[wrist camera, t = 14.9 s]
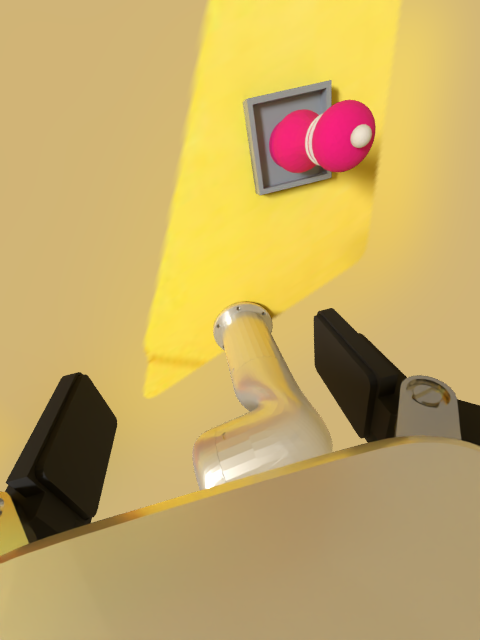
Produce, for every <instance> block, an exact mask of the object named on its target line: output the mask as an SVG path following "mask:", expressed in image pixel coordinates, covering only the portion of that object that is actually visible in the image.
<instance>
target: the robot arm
mask: <svg viewBox="0 0 480 640" xmlns="http://www.w3.org/2000/svg"><path fill="white" fill-rule="evenodd" d="M262 312H263V313H262ZM218 324H219V325H218ZM271 332H272V320H271V317H270V315H269V313H268V312H267V310H266V309H264V308H263V307H262V306H260V305H258V304H256V303H252V302H240V303H236V304H233V305H231V306H229V307H227V308H226V309H224V310H223V311H222V312H221V313H220V314H219V316H218V317H217V319H216V321H215V323H214V327H213V333H214V338H215V341H216V342H217V344H218V345H219V346H220V347H221V348H222V349H223V350H225V353H226V357H227V361H228V365H229V370H230V374H231V378H232V382H233V387H234V390H235V394H236V396H237V398H238V400H239V402H241V404H242V405H243V406H244V407H245V408H246V409H247V410H249V411H250V412H248V413H246V414H245V415H242V416H240V417H237V418H235V419H233V420H230V421H228V422H226V423H223V424H221V425H219V426H216V427H214V428H212V429H210V430H208V431H206V432H204V433H203V434H201V435H200V436H199V437H198V438H197V440H196V442H195V444H194V447H193V465H194V470H195V475H196V479H197V482H198V485H199V489H200V491H197V492H194V493H190V494H187V495H183V496H180V497H177V498H174V499H170V500H166V501H163V502H160V503H156V504H153V505H150V506H146V507H143V508H140V509H137V510H133V511H130V512H126V513H123V514H120V515H117V516H113V517H110V518H106V519H103V520H100V521H97V522H93V523H91V519H92V517H94V516H95V515H96V512H97V509H98V505H99V501H100V496H101V492H102V488H103V483H104V479H105V475H106V471H107V466H108V462H109V458H110V454H111V449H112V445H113V441H114V436H115V432H116V428H117V419H116V417H115V415H114V414H113V412H112V411H111V409H110V408H109V406H108V405H107V403H106V402H105V400H104V399H103V397H102V396H101V394H100V393H99V391H98V390H97V389H96V387H95V386H94V384H93V383H92V381H91V380H90V378H89V377H88V376H87V375H83V374H82V373H79V372H78V373H74V374H70V375H66V376H64V377H62V378H61V380H60V382H59V384H58V386H57V387H56V389H55V391H54V393H53V395H52V397H51V399H50V401H49V403H48V404H47V406H46V408H45V410H44V412H43V414H42V416H41V418H40V419H39V421H38V423H37V425H36V427H35V429H34V431H33V433H32V434H31V436H30V438H29V440H28V442H27V444H26V445H25V448H24V449H23V451H22V453H21V455H20V457H19V459H18V461H17V462H16V464H15V466H14V468H13V470H12V472H11V474H10V475H9V477H8V479H7V481H6V483H7V484H8V487H7V489H6V491H5V492H0V640H480V406H479V405H476V404H471V403H468V402H465V401H461V400H458V399H457V398H456V395H455V393H454V392H453V390H452V389H451V388H450V387H449V386H448V385H446V384H445V383H444V382H442V381H439V380H438V379H435V378H432V377H428V376H421V375H417V376H411V377H408V378H407V377H406V376H405V375H404V374H403V373H402V372H401V371H400V370H399V369H398V368H397V367H396V366H395V365H393V363H391V362H390V361H389V360H388V359H387V358H386V357H385V356H384V355H383V354H382V353H381V352H380V351H379V350H378V349H377V348H376V347H375V346H374V345H373V344H372V343H371V342H370V341H369V340H368V339H367V338H366V337H364V336H363V335H362V334H360V333H357V332H356V331H355V330H354V329H353V328H352V327H351V326H350V325H349V324H348V323H347V322H346V321H345V320H344V319H343V318H342V317H341V316H340V315H339V314H338V313H337V312H336V311H335V310H334V309H332V308H330V309H326V310H322V311H319V312H318V314H317V315H316V316H314V349H315V350H314V353H315V367H316V370H317V372H318V373H319V375H320V376H321V378H322V380H323V381H324V383H325V384H326V385H327V387H328V389H329V391H330V392H331V394H332V395H333V397H334V398H335V400H336V401H337V403H338V405H339V406H340V407H341V409H342V411H343V413H344V414H345V416H346V417H347V419H348V420H349V422H350V423H351V425H352V427H353V428H354V430H355V431H356V433H357V434H358V436H359V437H360V438H365V439H366V441H367V442H368V443H366V444H361V445H358V446H354V447H350V448H347V449H343V450H339V451H335V452H332V440H331V436H330V433H329V431H328V429H327V427H326V425H325V423H324V421H323V420H322V418H321V417H320V415H319V414H318V412H317V411H316V410H315V409H314V407H313V406H312V405H311V403H310V402H309V401H308V400H307V398H306V397H305V396H304V394H303V393H302V391H301V390H300V389H299V386H298V385H297V383H296V381H295V380H294V378H293V376H292V374H291V372H290V370H289V368H288V366H287V364H286V362H285V361H284V359H283V357H282V355H281V353H280V351H279V349H278V347H277V345H276V343H275V341H274V339H273V337H272V335H271Z"/></svg>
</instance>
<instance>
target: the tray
mask: <svg viewBox="0 0 480 640" xmlns="http://www.w3.org/2000/svg"><path fill="white" fill-rule="evenodd" d="M243 107H244V114H245V120H246V127H247V134H248V141H249V148H250V155H251V162H252V169H253V175H254V182H255V189H256V193H257V194H259V195H263V194H267V193H271V192H275V191H279V190H283V189H287V188H291V187H295V186H300V185H304V184H308V183H312V182H316V181H320V180H324V179H328V178H331V171H328V170H325V169H324V168H323V167H321V166H319V165H316V166H314V167H313V168H312V169H310V170H308V171H306V172H302V173H292V172H289V171H287V170H285V169H284V168H282V167H280V166H279V165H277V164H276V163H275V162H274V161H273V159H272V157H271V154H270V151H269V141H270V136H271V133H272V131H273V129H274V128H275V126H276V125H277V124H278V123H279V122H281V121H282V120H283V119H284V118H285V117H286V116H287V115H288V114H290V113H291V112H294V111H296V110H303V109H306V110H311V111H313V112H315V113H317V114H318V115H321V114H323V113H324V112H325V111H326V110H327V109H328V108H329V107H331V80H330V81H325V82H321V83H316V84H312V85H307V86H303V87H298V88H294V89H289V90H285V91H280V92H276V93H271V94H267V95H262V96H258V97H253V98H249V99H246V100H245V101H244V102H243Z"/></svg>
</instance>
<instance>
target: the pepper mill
mask: <svg viewBox="0 0 480 640" xmlns="http://www.w3.org/2000/svg"><path fill="white" fill-rule="evenodd" d="M374 137H375V120H374V117H373V115H372V113H371V111H370V110H369V108H368V107H367V106H366V105H364V104H363V103H361V102H359V101H355V100H345V101H341V102H338V103H336V104H334V105H333V106H331V107H329V108H328V109H327V110H326V111H325V112H324V113H323V114H321V115H318V114H317V113H315V112H313V111H311V110H306V109H303V110H296V111H294V112H291V113H290V114H288V115H287V116H286V117H285V118H284V119H283V120H282V121H281V122H279V123H278V124H277V125H276V126H275V128H274V129H273V131H272V133H271V136H270V141H269V151H270V154H271V157H272V159H273V161H274V162H275V163H276V164H277V165H279V166H280V167H282V168H284V169H285V170H287V171H289V172H292V173H302V172H306V171H308V170H310V169H312V168H313V167H314V166H316V165H319V166H321V167H323V168H324V169H325V170H328V171H331V172H344V171H347V170H350V169H352V168H353V167H355V166H356V165H358V164H359V163H360V162H361V161H362V160H363V159H364V158H365V157H366V155H367V154H368V152H369V150H370V148H371V146H372V144H373V141H374Z"/></svg>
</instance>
